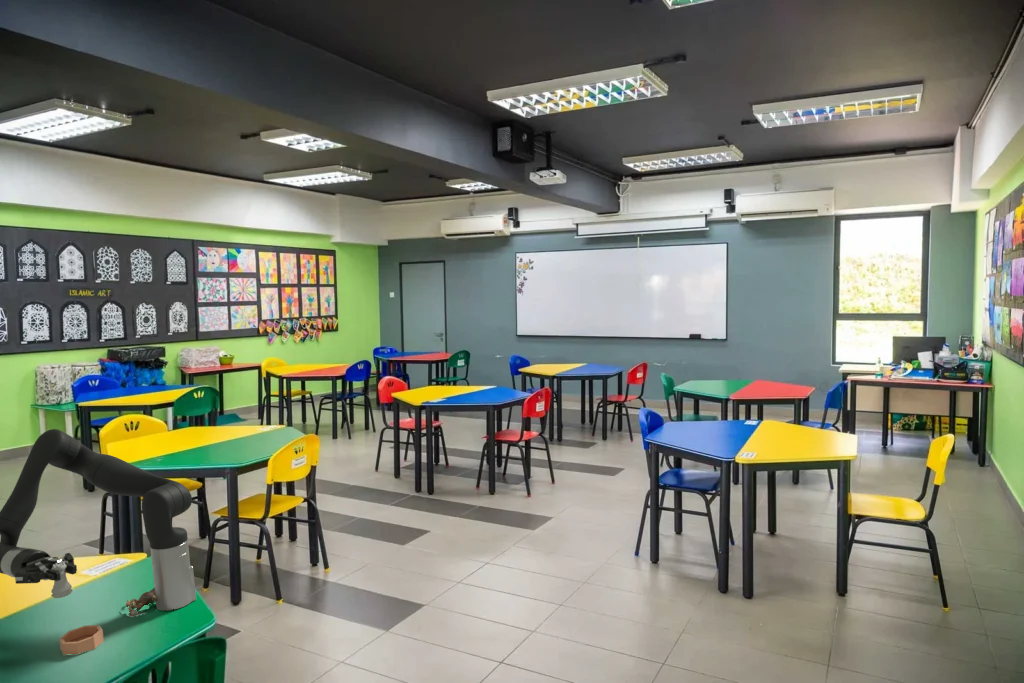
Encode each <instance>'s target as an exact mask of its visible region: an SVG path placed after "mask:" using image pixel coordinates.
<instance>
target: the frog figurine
mask: <svg viewBox="0 0 1024 683" xmlns="http://www.w3.org/2000/svg"><path fill="white" fill-rule="evenodd" d="M150 602H156V597H155V587H153V588H152V589H151V590H149V591H145V592H143V593H142V594H141V595H140V597H139V598H138V599H137V598H131V599H130V600H127V599H126V602H125V603H126V606H127V607H128V606H129V608H128V609H129V612H130V613H129V614H128V615H129V616H131V617H130V618H135V617H134V616H136V617H138V616H137V615H140V616H142V615H141V614H144V615H146V614H145V612H140V613H141V614H140V613H139V612H138V611H136V610H140V609H141V608H142V607H143V606H144V605H148V604H149V603H150ZM133 604H134V605H133ZM134 607H135V608H137V609H136V610H134V609H132V608H134ZM137 612H138V613H139V614H138V613H137ZM129 616H128V617H129Z"/></svg>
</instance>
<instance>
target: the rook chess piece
mask: <svg viewBox="0 0 1024 683" xmlns="http://www.w3.org/2000/svg"><path fill="white" fill-rule="evenodd" d="M66 567H67V565H66V564H65V563H64V562H59V564H57V563H55V564H53V567H52V569H51V570H55V571H59V572H60V578H61V579H60V580H59V581H54V580H53V582H54V583H53V587H52V589H51V597H52V598H54V599H61V598H65V597H67V596H69V595H71V594H72V592H73V588H72V584H70V581H68V578H67V573H66V571H65V568H66Z"/></svg>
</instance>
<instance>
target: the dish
mask: <svg viewBox="0 0 1024 683" xmlns="http://www.w3.org/2000/svg"><path fill="white" fill-rule="evenodd" d="M104 641H105V640H104V630H103V628H102V627H101V626H100V625H99V624H91V625H82V626H79V627H77V628H74V629H71V630H69V631H67V632H66V633H64V634H63V635H62V636H60V637H59V638H58V644H59V650H61V651H62V652H61V651H60V652H61V654H62V653H63V654H64V655H67V654H79V653H82V652H85V651H88V652H90V651H89V650H91V651H93V650H96V649H97V648H98V647H99V646H100V645H101V644H103V643H104ZM98 645H99V646H98ZM97 646H98V647H97ZM96 647H97V648H96ZM92 649H93V650H92ZM85 653H86V652H85ZM63 654H62V655H63ZM64 655H63V656H64Z"/></svg>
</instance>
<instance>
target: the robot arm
mask: <svg viewBox="0 0 1024 683" xmlns="http://www.w3.org/2000/svg"><path fill="white" fill-rule="evenodd" d="M32 445H33V446H32V448H31V450H30V452H29V454H28V456H27V459H26V461H25V463H24V465H23V467H22V470H21V472H20V475H19V477H18V479H17V482H16V484H15V486H14V488H13V490H12V492H11V493H10V495H9V497H8V499H7V500H6V502H5V503H4V505H3V506H2V508H1V509H0V574H4V575H7V576H9V577H11V578H14V580H15V584H16V585H17V584H38V583H40V582H41V581H42V580H43V581H53V582H54V581H59V580H60V579H61V578H60V572H59V571H55V570H51V569H52V567H53V564H55V563H57V564H59V562H64V563H65V564H66V565H67V567H66V568H65V571H66V574H69V575H75V574H77V571H78V569H77V564H75V558H74V557H73V555H72V553H70V552H68V553H67V552H66V553H65V554H64V555H63V557H60V558H59V556H54V557H53V556H51V555H50V554H49V553H48V552H46V551H43V550H40V549H35V548H31V547H20V546H18V543H19V539H20V536H21V533H22V531H23V529H24V527H25V526H26V524H27V523H28V521H29V519H30V518H31V516H32V515H33V512H34V510H35V508H36V505H37V502H38V496H39V490H40V489H39V488H40V483H41V479H42V476H43V474H44V472H45V469H46V468H47V466H48V465H50V466H52V467H55V468H57V469H58V468H59V469H61V470H64V471H68V472H70V473H71V472H72V473H74V474H77V475H79V476H81V477H83V478H84V479H85V480H86V481H87V482H88V483H89V484H90V485H92V486H95V487H96V488H98V489H100V490H102V491H104V492H106V493H109V494H112V495H116V496H124V497H125V496H126V497H139V498H142V500H141V514H142V518H143V524H144V531H145V534H146V538H147V539H148V542H149V546H150V547H149V548H150V558H151V566H152V577H153V586H154V587H155V597H156V605H155V607H156V608H157V609H156V610H159V611H163V612H164V611H165V610H166V611H173V609H174V610H177V609H180V608H183V607H186V606H188V605H189V604H191V603H192V602H194V601H197V593H196V585H195V584H196V583H195V574H194V567H193V565H191V559H190V550H189V548H190V547H189V539H188V532H187V530H186V529H185V528H184V527H179V526H177V527H176V526H173V523H172V518H175V517H178V516H179V515H182V514H184V513H185V512H186V511H188V510H189V509H190V508H191V506H192V503H193V498H192V494H191V492H190V490H189V489H188V488H187V486H185V485H184V484H182V483H181V482H178V481H176V480H173V479H169V478H166V477H163V476H159V475H157V474H154V473H152V472H150V471H147V470H144V469H143V468H140V467H137V466H135V465H133V464H131V463H129V462H127V461H126V460H124V459H121V458H119V457H116V456H114V455H111V454H107V453H106V454H105V453H98V452H96V451H94V450H93V449H91V448H88V446H85V445H84V444H83V443H81V442H80V441H79V440H77V439H76V438H74V437H73V436H72V435H69V434H68V433H66V432H64V431H63V430H60V429H58V428H57V429H56V428H54V429H52V428H51V429H48V430H46V431H44V432H43V433H41V434H40V435H39V436H38V437H37V439H36V440H35V441H34V443H33V444H32ZM154 587H153V588H154Z"/></svg>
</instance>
